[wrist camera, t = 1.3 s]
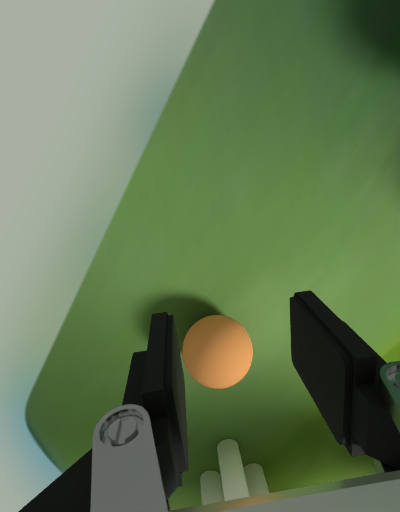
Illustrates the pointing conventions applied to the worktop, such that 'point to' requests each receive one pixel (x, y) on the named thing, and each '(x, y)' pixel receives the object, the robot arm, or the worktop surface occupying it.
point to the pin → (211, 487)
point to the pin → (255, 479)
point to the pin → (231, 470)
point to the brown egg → (217, 351)
